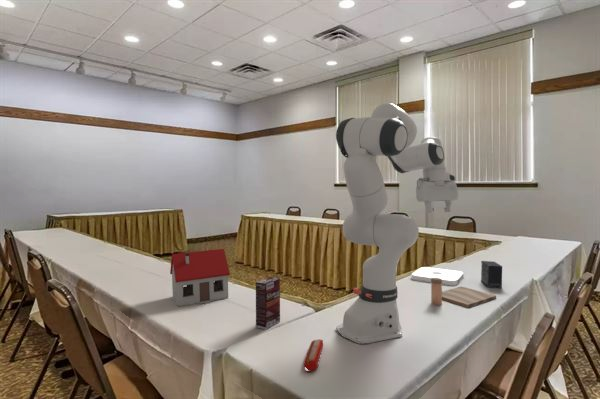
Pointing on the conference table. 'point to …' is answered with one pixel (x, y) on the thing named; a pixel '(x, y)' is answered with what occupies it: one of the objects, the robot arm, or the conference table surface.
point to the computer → (438, 275)
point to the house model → (199, 276)
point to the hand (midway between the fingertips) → (439, 212)
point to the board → (466, 296)
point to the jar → (436, 291)
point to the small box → (491, 274)
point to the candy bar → (313, 354)
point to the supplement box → (267, 302)
